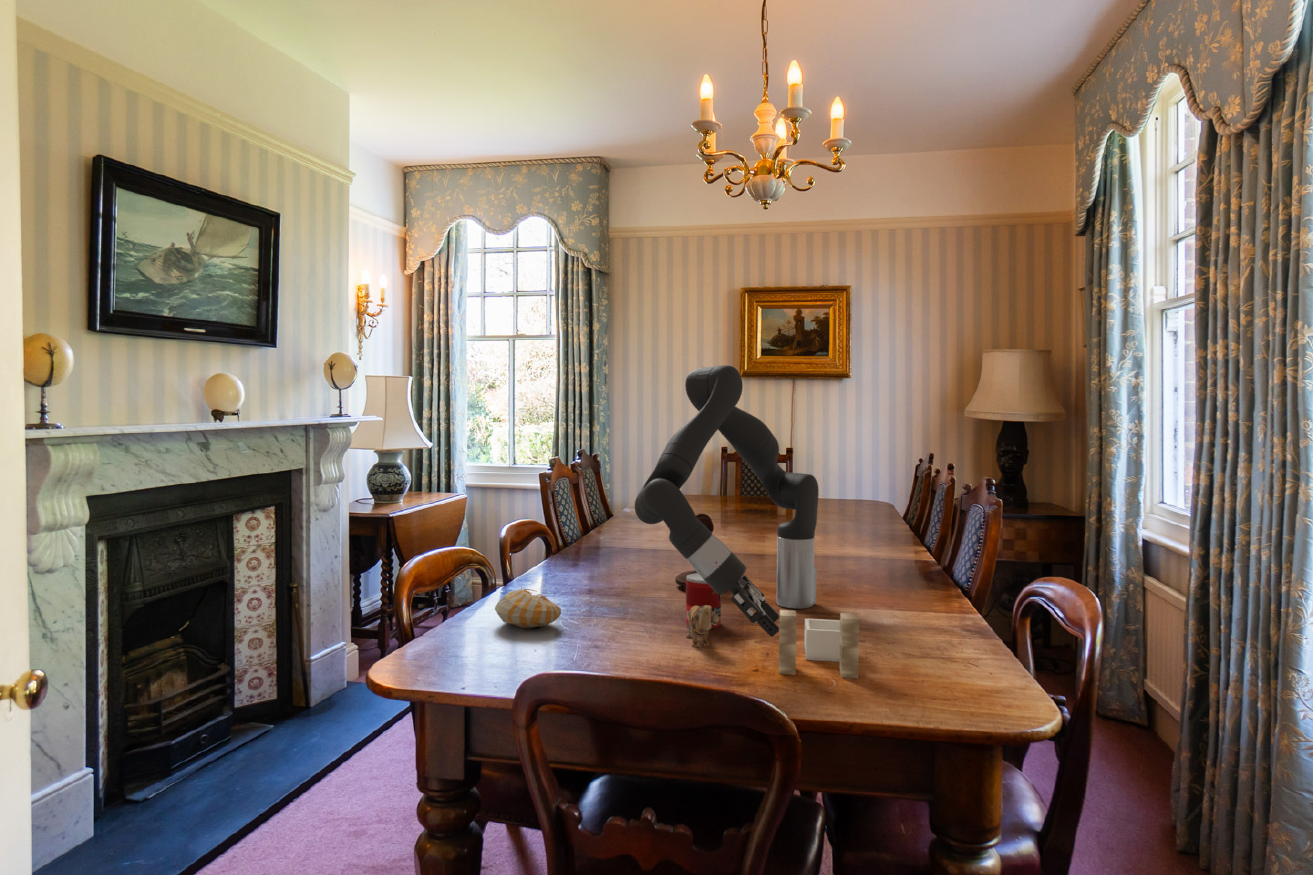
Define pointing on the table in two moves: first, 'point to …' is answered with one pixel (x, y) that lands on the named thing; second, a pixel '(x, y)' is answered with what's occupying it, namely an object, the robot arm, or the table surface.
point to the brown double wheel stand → (682, 577)
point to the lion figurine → (701, 623)
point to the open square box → (822, 640)
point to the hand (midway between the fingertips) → (776, 626)
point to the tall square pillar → (787, 642)
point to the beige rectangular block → (849, 645)
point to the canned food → (701, 596)
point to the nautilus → (527, 609)
